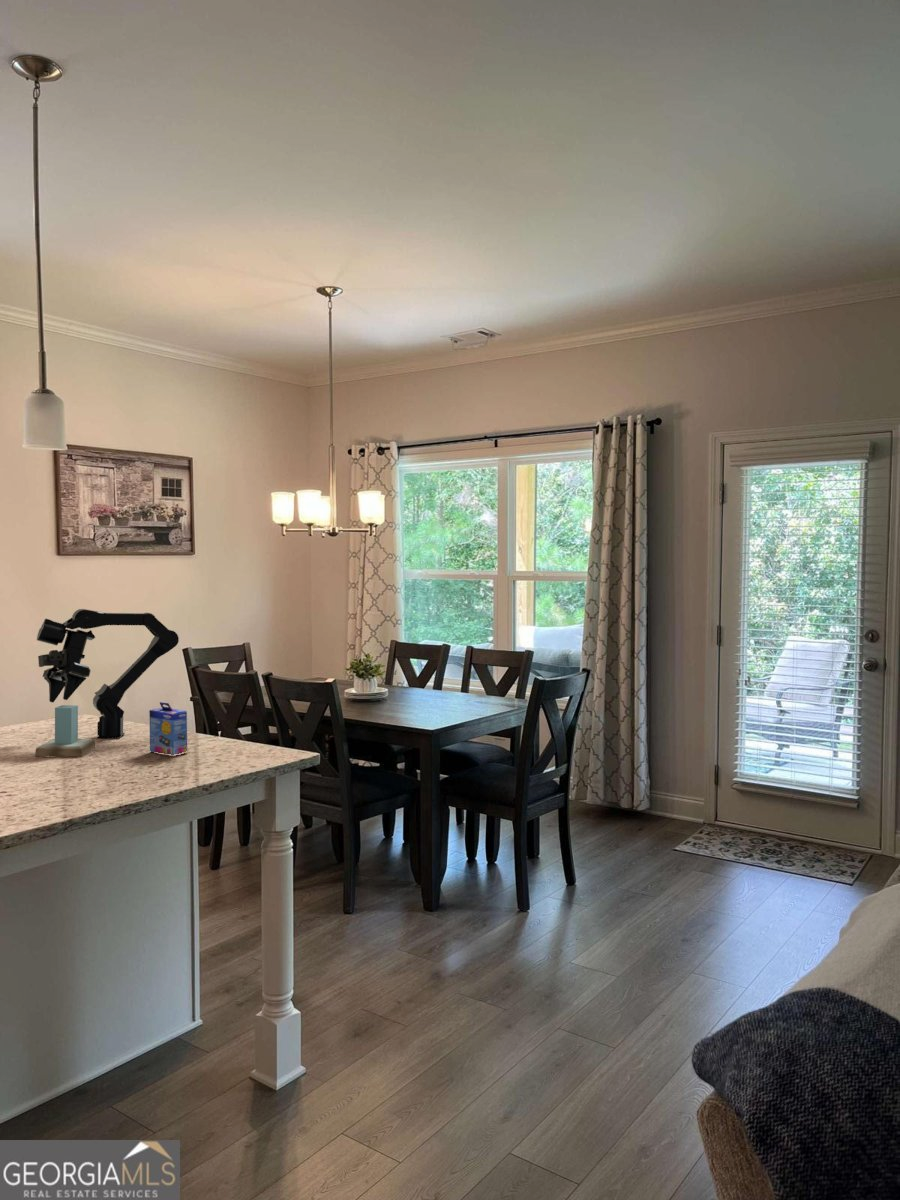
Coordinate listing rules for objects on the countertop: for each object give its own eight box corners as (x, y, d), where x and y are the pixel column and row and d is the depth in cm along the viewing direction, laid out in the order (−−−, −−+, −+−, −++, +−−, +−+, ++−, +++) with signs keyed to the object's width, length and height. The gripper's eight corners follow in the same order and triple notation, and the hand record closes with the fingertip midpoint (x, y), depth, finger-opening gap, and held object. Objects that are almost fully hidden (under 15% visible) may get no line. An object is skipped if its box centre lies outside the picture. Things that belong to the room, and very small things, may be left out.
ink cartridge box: (147, 753, 242) (148, 701, 242) (163, 749, 247) (164, 699, 247) (172, 757, 237) (172, 704, 237) (188, 754, 242) (188, 702, 242)
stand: (95, 747, 248) (95, 738, 248) (81, 756, 236) (81, 746, 236) (51, 747, 247) (51, 738, 247) (35, 756, 235) (35, 746, 235)
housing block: (61, 740, 243) (61, 705, 243) (77, 741, 244) (77, 705, 243) (54, 744, 239) (54, 707, 239) (71, 744, 239) (71, 708, 239)
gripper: (33, 645, 258) (17, 696, 252) (60, 637, 245) (44, 690, 240) (69, 656, 265) (54, 706, 259) (97, 649, 252) (82, 701, 247)
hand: (58, 700), depth 251 cm, fingers open, 9 cm apart
